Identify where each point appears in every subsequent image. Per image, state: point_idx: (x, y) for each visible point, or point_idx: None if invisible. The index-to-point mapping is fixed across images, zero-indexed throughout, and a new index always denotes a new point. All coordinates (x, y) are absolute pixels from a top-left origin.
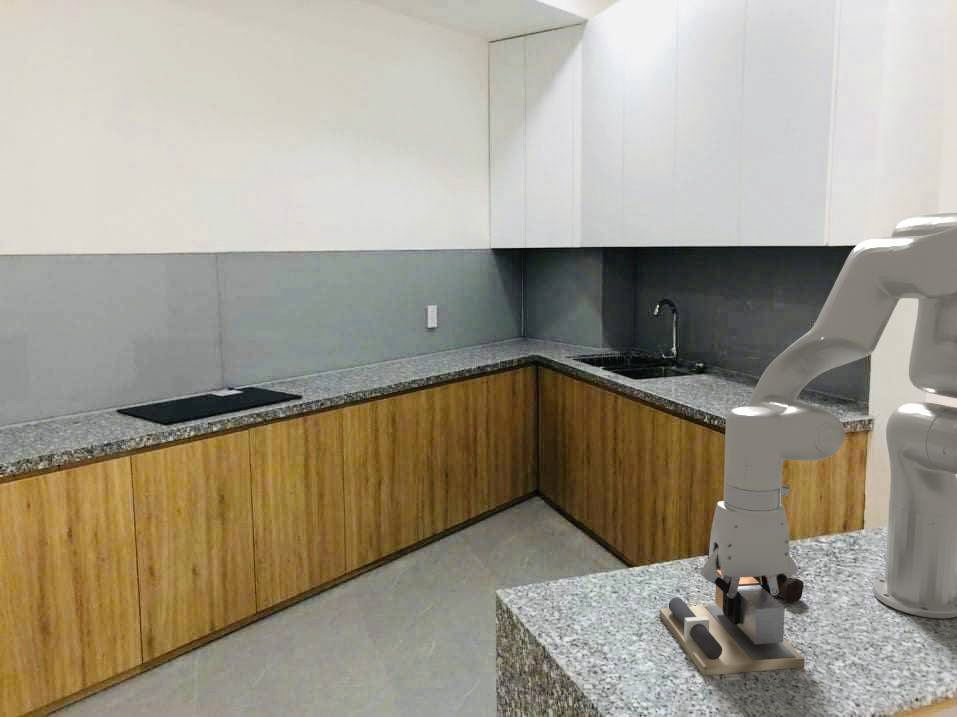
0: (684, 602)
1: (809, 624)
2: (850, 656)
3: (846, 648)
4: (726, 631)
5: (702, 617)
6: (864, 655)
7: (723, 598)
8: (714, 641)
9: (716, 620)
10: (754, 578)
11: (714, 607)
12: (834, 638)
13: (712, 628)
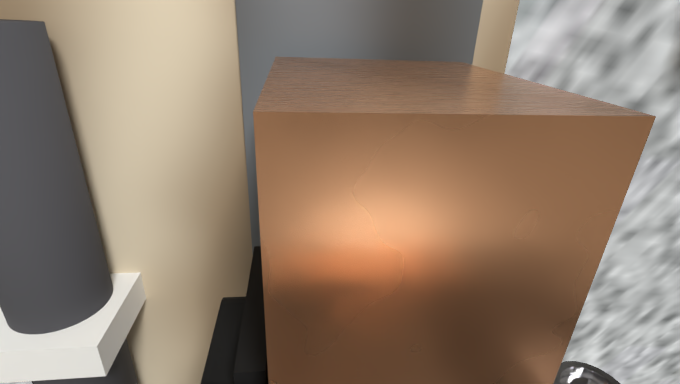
0: (10, 71)
1: (653, 165)
2: (591, 347)
3: (620, 313)
4: (250, 253)
5: (67, 358)
6: (631, 345)
7: (207, 368)
8: None
9: (243, 153)
10: (562, 358)
11: (291, 9)
12: (642, 262)
13: (192, 223)
